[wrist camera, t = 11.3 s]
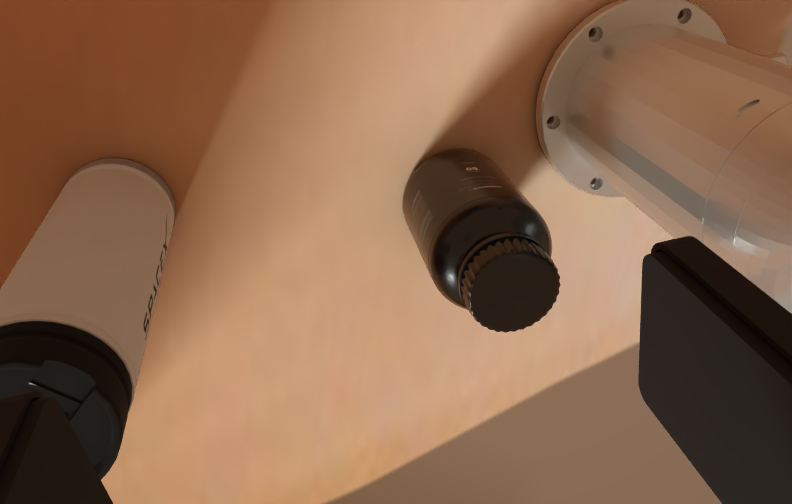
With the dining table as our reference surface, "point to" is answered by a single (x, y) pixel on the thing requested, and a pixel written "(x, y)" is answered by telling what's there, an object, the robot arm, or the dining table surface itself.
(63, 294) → the travel mug
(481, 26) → the dining table surface
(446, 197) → the supplement bottle
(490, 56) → the dining table surface
